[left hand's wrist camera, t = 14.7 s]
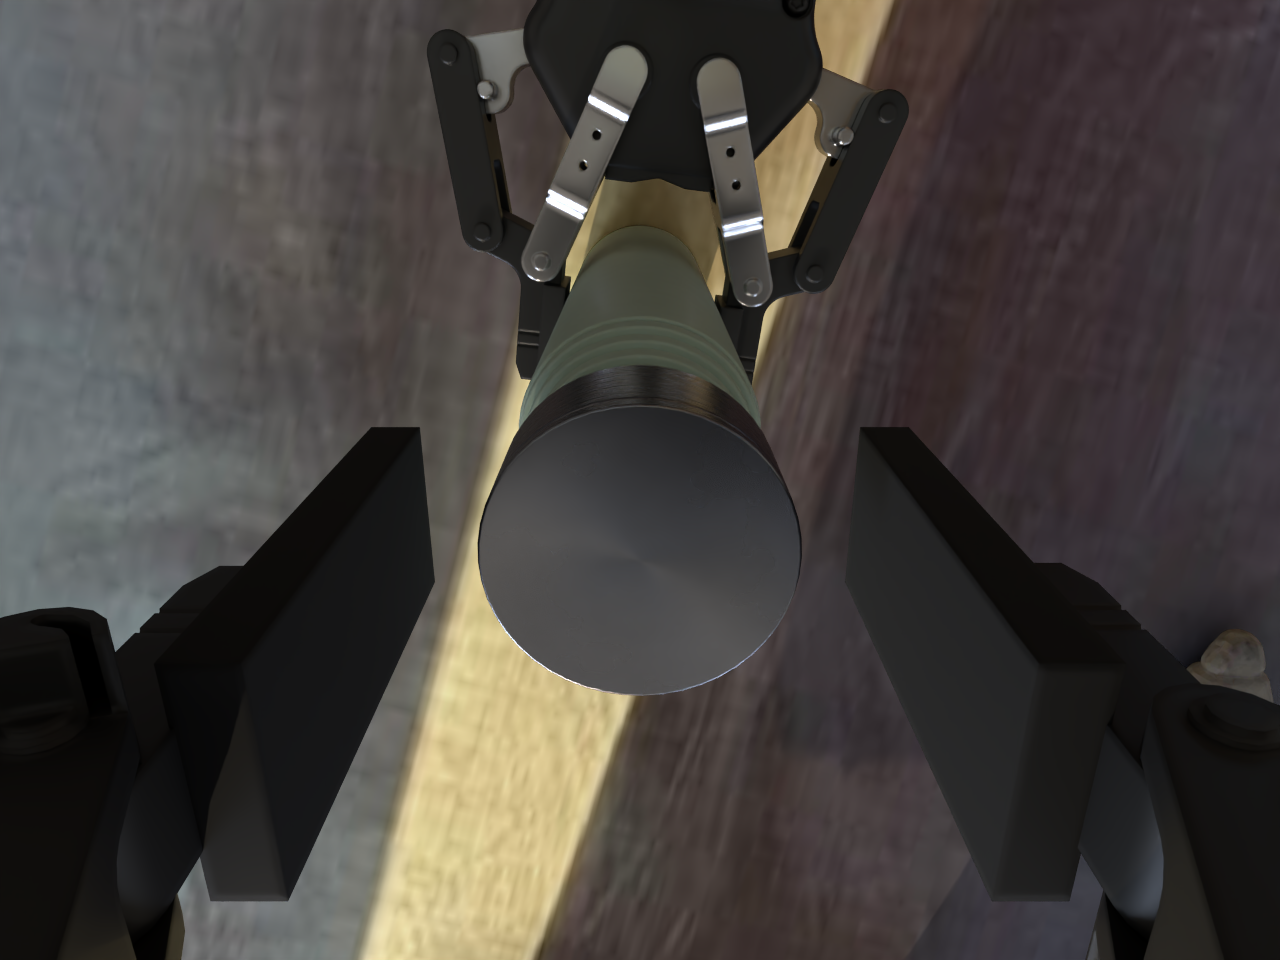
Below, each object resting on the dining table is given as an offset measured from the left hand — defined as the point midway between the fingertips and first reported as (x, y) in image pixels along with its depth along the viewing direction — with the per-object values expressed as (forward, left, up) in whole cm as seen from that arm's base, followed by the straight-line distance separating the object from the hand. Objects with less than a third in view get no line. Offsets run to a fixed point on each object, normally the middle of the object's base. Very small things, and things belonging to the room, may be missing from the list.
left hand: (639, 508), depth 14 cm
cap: (0, 0, +2) cm, 2 cm away
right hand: (-2, +1, -15) cm, 15 cm away
